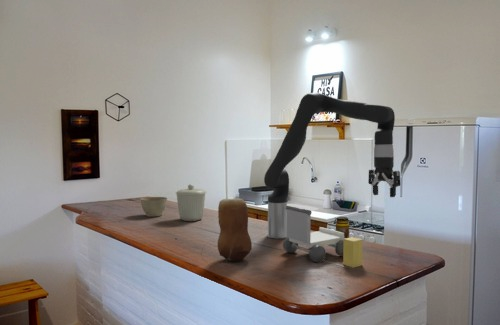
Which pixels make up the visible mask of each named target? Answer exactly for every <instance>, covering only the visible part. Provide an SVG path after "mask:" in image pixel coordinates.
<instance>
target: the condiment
mask: <svg viewBox="0 0 500 325" xmlns="http://www.w3.org/2000/svg"><path fill="white" fill-rule="evenodd" d="M335 231H338V232H342V233H344V239H345V238H350V223H349V218H348V217H347V216H338V217H336V223H335ZM334 244H335V245H336V244H337V243H334Z"/></svg>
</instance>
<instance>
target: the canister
mask: <svg viewBox="0 0 500 325" xmlns="http://www.w3.org/2000/svg"><path fill="white" fill-rule="evenodd" d="M206 194H207V191H206V190H204V189H201V188H195V186H194V184H192V183H191V184H188V185H187V188H183V189H178V190H177V191H175V195H176V200H177V207H178V209H177V210H178V215H179V218H180V220H182V221H183V222H196V221H200V220H202V218H203V217H204V210H205V201H206Z"/></svg>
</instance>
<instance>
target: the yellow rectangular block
mask: <svg viewBox="0 0 500 325" xmlns="http://www.w3.org/2000/svg"><path fill="white" fill-rule="evenodd" d="M342 261H343V262H342V264H343V265H344V266H347V267H350V268H358V267H361V265H362V266H363V239H361V238H359V237H358V238H357V237H355V236H351V237H350V236H349V238H345V239H343V260H342Z"/></svg>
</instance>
